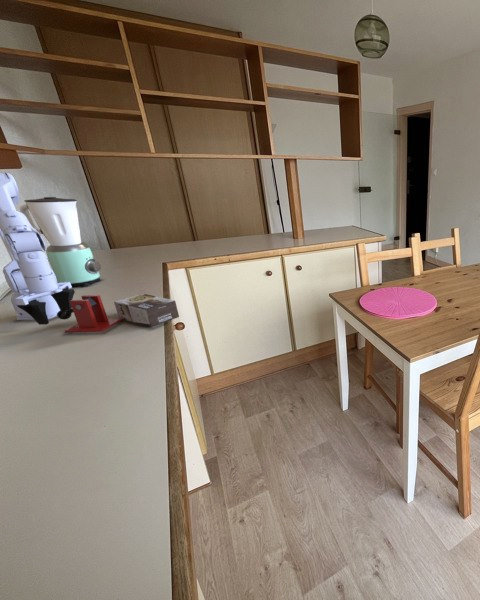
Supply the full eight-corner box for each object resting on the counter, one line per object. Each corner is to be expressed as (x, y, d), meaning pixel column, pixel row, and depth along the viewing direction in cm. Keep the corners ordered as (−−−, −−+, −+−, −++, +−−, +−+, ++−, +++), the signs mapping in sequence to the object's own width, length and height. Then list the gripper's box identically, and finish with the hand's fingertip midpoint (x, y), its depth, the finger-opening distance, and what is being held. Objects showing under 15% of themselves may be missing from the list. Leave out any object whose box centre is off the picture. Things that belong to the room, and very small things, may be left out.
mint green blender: (113, 278, 140) (87, 196, 128) (93, 287, 128) (62, 198, 115) (63, 280, 136) (30, 196, 124) (37, 290, 124) (-2, 198, 111)
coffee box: (119, 319, 101) (150, 329, 95) (113, 301, 99) (145, 309, 93) (149, 310, 109) (180, 318, 103) (144, 292, 107) (176, 300, 101)
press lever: (59, 322, 92) (51, 314, 91) (68, 318, 95) (60, 310, 94) (90, 307, 92) (82, 299, 90) (98, 303, 94) (91, 295, 93)
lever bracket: (66, 334, 91) (53, 303, 88) (88, 322, 99) (77, 293, 95) (103, 333, 92) (92, 302, 89) (122, 321, 100) (113, 293, 96)
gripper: (28, 282, 82) (48, 329, 87) (75, 268, 95) (90, 308, 100) (-2, 283, 81) (19, 329, 86) (50, 268, 95) (66, 309, 100)
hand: (56, 318), depth 93 cm, fingers open, 7 cm apart
